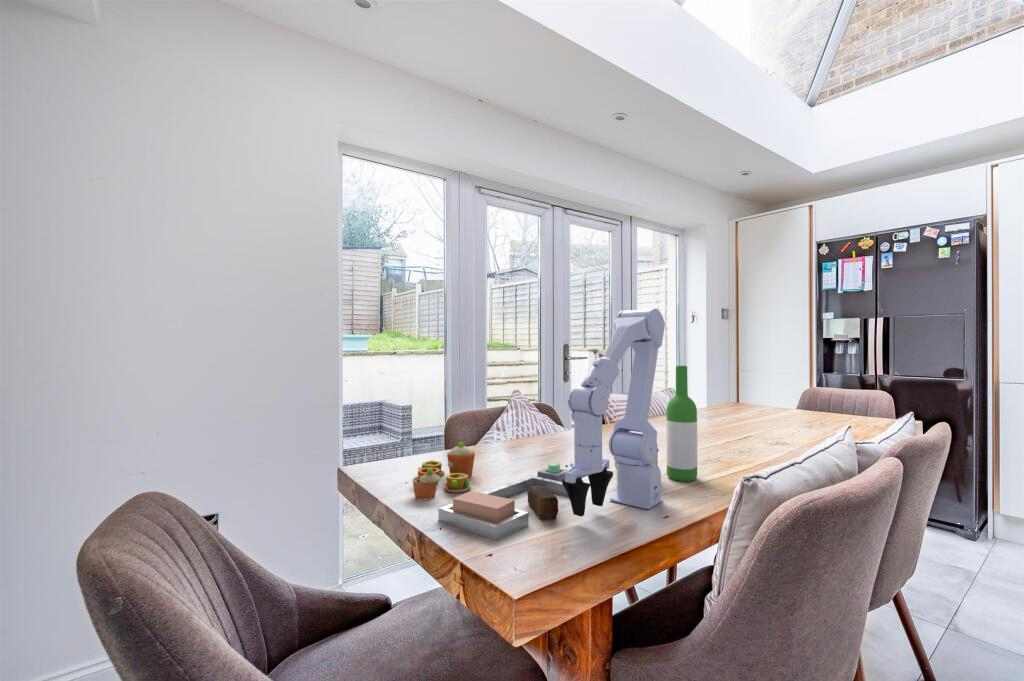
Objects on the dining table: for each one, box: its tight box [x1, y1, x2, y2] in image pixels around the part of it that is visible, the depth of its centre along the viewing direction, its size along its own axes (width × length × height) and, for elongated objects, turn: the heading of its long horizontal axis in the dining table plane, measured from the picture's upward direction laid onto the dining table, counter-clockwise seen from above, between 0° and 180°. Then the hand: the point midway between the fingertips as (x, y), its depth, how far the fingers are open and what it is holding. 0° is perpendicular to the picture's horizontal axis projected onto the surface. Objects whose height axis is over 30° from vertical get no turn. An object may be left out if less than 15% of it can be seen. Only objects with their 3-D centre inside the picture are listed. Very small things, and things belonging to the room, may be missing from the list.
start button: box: [547, 462, 561, 474], centre depth 122 cm, size 3×3×4 cm
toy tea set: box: [412, 441, 476, 501], centre depth 123 cm, size 26×16×10 cm, turn 3°
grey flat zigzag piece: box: [438, 475, 569, 542], centre depth 105 cm, size 16×31×2 cm, turn 140°
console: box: [537, 467, 569, 482], centre depth 122 cm, size 6×6×4 cm
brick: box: [527, 486, 559, 521], centre depth 103 cm, size 11×4×5 cm, turn 13°
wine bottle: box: [666, 365, 698, 482], centre depth 128 cm, size 8×8×30 cm
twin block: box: [452, 490, 516, 523], centre depth 97 cm, size 6×11×5 cm, turn 57°
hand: (588, 510), depth 99 cm, fingers open, 7 cm apart
